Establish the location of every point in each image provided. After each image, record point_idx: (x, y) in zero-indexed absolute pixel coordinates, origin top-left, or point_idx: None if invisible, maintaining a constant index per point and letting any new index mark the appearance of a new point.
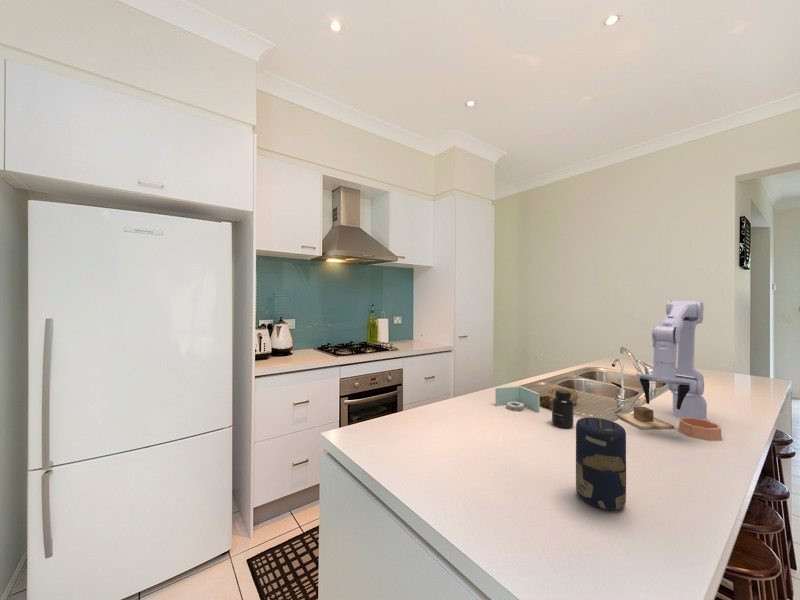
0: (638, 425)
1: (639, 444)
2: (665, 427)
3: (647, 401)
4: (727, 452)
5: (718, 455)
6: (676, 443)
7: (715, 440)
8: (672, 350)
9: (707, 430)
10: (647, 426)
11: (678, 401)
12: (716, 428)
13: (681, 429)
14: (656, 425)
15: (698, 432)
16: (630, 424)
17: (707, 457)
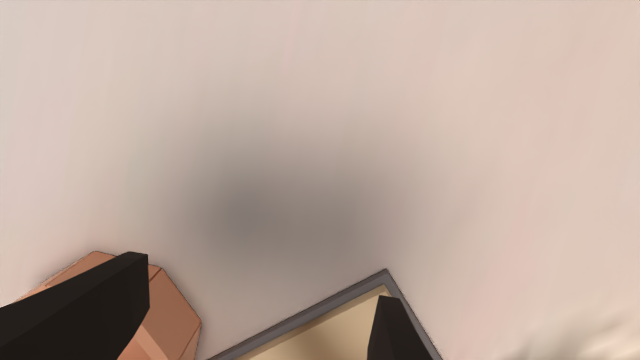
0: None
1: (443, 35)
2: (253, 352)
3: (398, 306)
4: (39, 142)
5: (82, 73)
6: (243, 156)
7: (61, 271)
8: None
9: (58, 282)
10: (347, 309)
11: (89, 290)
12: None
13: (184, 326)
14: (296, 346)
15: None
16: (424, 334)
17: (135, 12)
